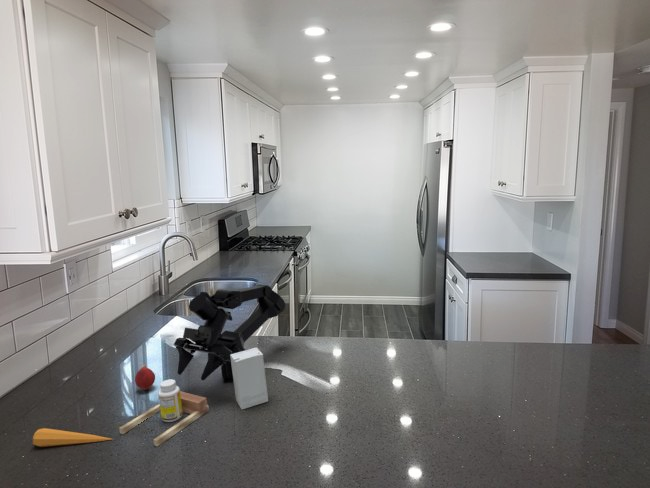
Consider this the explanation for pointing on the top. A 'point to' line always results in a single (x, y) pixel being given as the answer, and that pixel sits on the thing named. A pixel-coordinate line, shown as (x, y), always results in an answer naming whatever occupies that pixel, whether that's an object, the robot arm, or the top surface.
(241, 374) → the skincare box
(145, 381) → the red round piece
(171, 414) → the supplement bottle
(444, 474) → the top surface
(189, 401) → the rail track
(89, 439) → the carrot
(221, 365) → the robot arm
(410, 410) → the top surface
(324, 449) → the top surface
